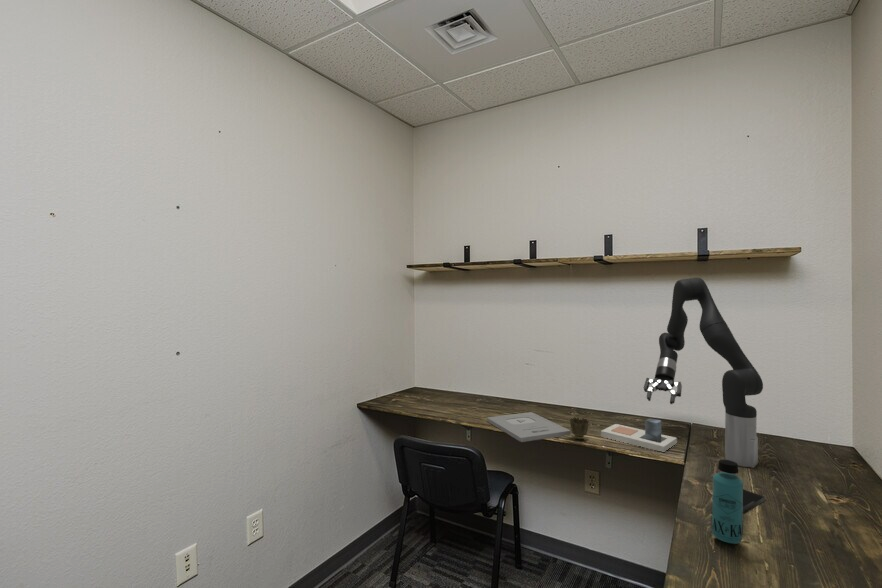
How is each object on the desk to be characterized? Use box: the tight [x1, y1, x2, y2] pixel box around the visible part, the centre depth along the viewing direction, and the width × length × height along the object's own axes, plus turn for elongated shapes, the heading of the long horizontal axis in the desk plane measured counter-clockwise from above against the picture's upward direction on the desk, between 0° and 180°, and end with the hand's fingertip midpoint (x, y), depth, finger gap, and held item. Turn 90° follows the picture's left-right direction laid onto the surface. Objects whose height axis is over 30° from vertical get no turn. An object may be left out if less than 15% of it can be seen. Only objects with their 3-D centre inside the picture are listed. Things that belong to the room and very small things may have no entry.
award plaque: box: [486, 411, 572, 443], centre depth 194 cm, size 25×30×2 cm
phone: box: [743, 488, 766, 514], centre depth 126 cm, size 8×1×15 cm
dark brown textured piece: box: [569, 417, 590, 441], centre depth 179 cm, size 8×7×8 cm
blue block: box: [644, 418, 662, 443], centre depth 173 cm, size 4×4×10 cm
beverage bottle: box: [710, 459, 745, 544], centre depth 106 cm, size 6×7×20 cm
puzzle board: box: [600, 423, 678, 453], centre depth 177 cm, size 25×14×3 cm, turn 43°
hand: (659, 401), depth 182 cm, fingers open, 8 cm apart
